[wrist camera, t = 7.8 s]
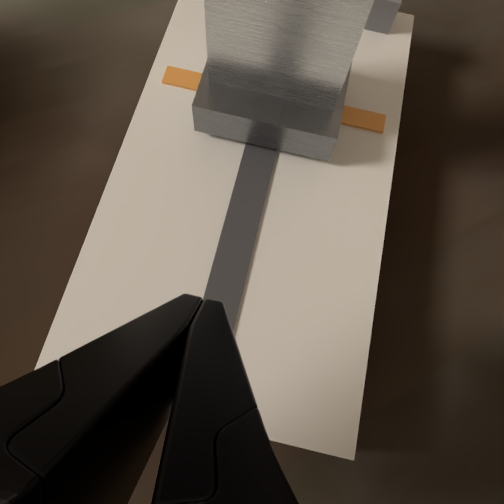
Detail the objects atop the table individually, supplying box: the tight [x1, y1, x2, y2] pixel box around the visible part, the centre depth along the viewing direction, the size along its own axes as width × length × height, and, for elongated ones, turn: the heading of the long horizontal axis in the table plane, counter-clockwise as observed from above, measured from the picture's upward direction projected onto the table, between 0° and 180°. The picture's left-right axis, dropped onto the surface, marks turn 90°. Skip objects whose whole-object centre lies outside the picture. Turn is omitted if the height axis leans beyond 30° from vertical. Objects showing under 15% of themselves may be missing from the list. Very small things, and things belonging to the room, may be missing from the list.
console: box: [35, 0, 414, 461], centre depth 16 cm, size 18×10×4 cm, turn 167°
